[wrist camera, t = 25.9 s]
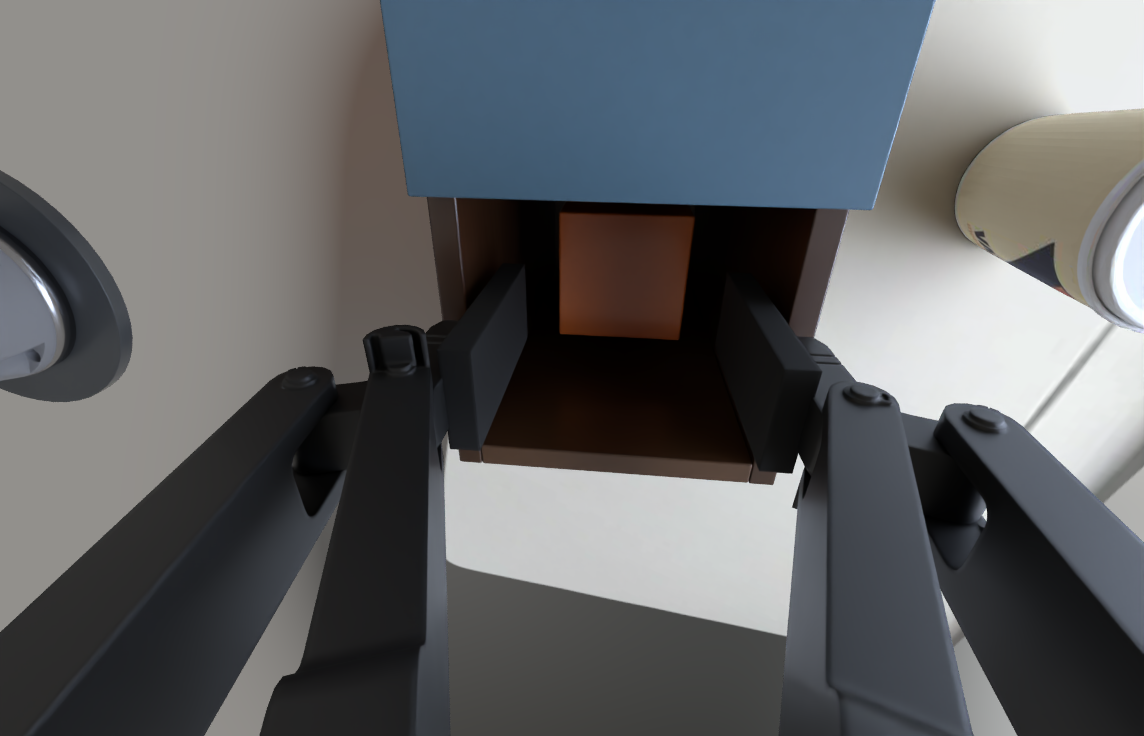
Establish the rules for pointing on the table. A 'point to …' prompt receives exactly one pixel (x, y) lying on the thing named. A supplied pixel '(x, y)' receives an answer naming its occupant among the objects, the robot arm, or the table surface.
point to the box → (630, 339)
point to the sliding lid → (652, 98)
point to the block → (623, 268)
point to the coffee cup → (1066, 207)
